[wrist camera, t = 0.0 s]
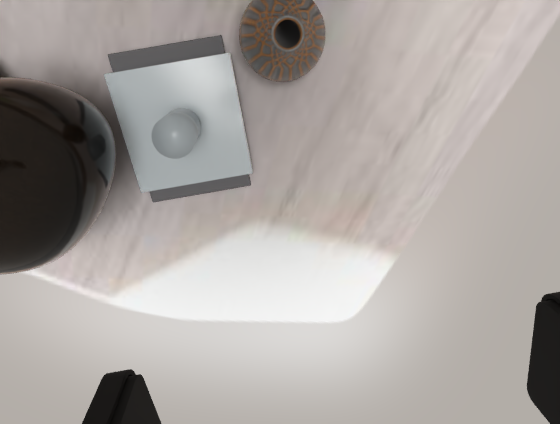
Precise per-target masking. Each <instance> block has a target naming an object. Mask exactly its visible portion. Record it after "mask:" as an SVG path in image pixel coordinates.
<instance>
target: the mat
mask: <svg viewBox="0 0 560 424" xmlns="http://www.w3.org/2000/svg"><path fill="white" fill-rule="evenodd" d="M219 54H225V52H224V46H223V41H222V36H221V35H220V36H214V37H208V38H202V39H196V40H190V41H184V42H179V43H173V44H167V45H161V46H155V47H149V48H144V49H138V50H132V51H126V52H120V53H114V54H108V57H109V61H110V64H111V67H112V70H113V73H114V72H120V71H126V70H132V69H137V68H143V67H149V66H155V65H161V64H167V63H172V62H178V61H184V60H190V59H196V58H202V57H207V56H213V55H219ZM250 185H251V183H250V178H249V174H246V175H240V176H234V177H229V178H223V179H217V180H212V181H206V182H200V183H194V184H189V185H183V186H177V187H171V188H166V189H160V190H154V191H150V194H151V198H152V201H153V202H158V201H164V200H170V199H175V198H181V197H187V196H192V195H198V194H204V193H210V192H215V191H221V190H227V189H233V188H238V187H244V186H250Z"/></svg>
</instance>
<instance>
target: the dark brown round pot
mask: <svg viewBox="0 0 560 424" xmlns="http://www.w3.org/2000/svg"><path fill="white" fill-rule="evenodd" d="M115 164H116V146H115V140H114V135H113V132H112V129H111V127H110V125H109V123H108V121H107V119H106V118H105V116H104V115H103V114H102V113H101V111H100V110H99V109H98V108H97V107H96V106H95V105H94V104H92V103H91V102H90V101H89V100H87V99H86V98H84V97H82V96H81V95H79V94H78V93H76V92H73V91H71V90H69V89H67V88H64V87H61V86H58V85H54V84H51V83H47V82H43V81H38V80H33V79H25V78H13V77H7V78H0V274H10V273H17V272H23V271H28V270H31V269H35V268H38V267H41V266H44V265H46V264H49V263H51V262H53V261H55V260H57V259H59V258H60V257H62V256H63V255H64V254H66V253H67V252H69V251H70V250H71V249H72V248H73V247H74V246H75V245H76V244H77V243H78V242H79V241H80V240H81V239H82V238H83V237H84V236H85V235H86V234H87V232H88V231H89V230H90V229H91V227H92V225H93V224H94V222H95V221H96V219H97V217H98V216H99V214H100V212H101V211H102V208H103V206H104V204H105V202H106V199H107V197H108V194H109V191H110V188H111V185H112V181H113V177H114V171H115Z"/></svg>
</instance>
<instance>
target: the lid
mask: <svg viewBox="0 0 560 424" xmlns="http://www.w3.org/2000/svg"><path fill="white" fill-rule="evenodd" d="M104 77H105V80H106V83H107V86H108V89H109V92H110V96H111V99H112V102H113V105H114V108H115V111H116V115H117V118H118V121H119V124H120V127H121V130H122V134H123V137H124V140H125V143H126V146H127V149H128V153H129V156H130V159H131V162H132V165H133V168H134V172H135V175H136V178H137V181H138V184H139V187H140V191H141V193H143V192H149V191H154V190H160V189H166V188H171V187H177V186H183V185H189V184H194V183H200V182H206V181H212V180H217V179H223V178H229V177H234V176H240V175H246V174H252V173H253V169H252V163H251V158H250V153H249V148H248V143H247V137H246V132H245V127H244V122H243V117H242V111H241V106H240V101H239V96H238V91H237V85H236V80H235V75H234V70H233V65H232V59H231V54H230V53H225V54H219V55H213V56H207V57H202V58H196V59H190V60H184V61H178V62H172V63H167V64H161V65H155V66H149V67H143V68H137V69H132V70H126V71H120V72H114V73H108V74H104Z"/></svg>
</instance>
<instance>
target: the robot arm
mask: <svg viewBox="0 0 560 424" xmlns="http://www.w3.org/2000/svg"><path fill="white" fill-rule="evenodd" d="M527 390H528V394H529V396H530V398H531V400H532V401H533V403H534V404H535V405H536V406H537V408H538V409H539V410H540V412H541V413H542V414H543V415H544V417H545V418H546V419H547V420H548V422H550V424H560V292H556V293H551V294H546V295H544V296H543V298H542V300H541V302H539V303H538V304H537V306H536V313H535V321H534V330H533V338H532V348H531V355H530V364H529V372H528V381H527ZM82 424H161V421H160V419H159V417H158V414H157V411H156V409H155V406H154V404H153V401H152V399H151V396H150V394H149V391H148V388H147V386H146V384H145V381H144V378H143V377H142V375H136V374H135V373H134V371H133V370H124V371H118V372H113V373H107V374H106V375H104V376H103V378H102V380H101V382H100V384H99V386H98V389H97V391H96V394H95V396H94V398H93V400H92V402H91V404H90V407H89V409H88V411H87V413H86V416H85V418H84V421H83V423H82Z"/></svg>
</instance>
